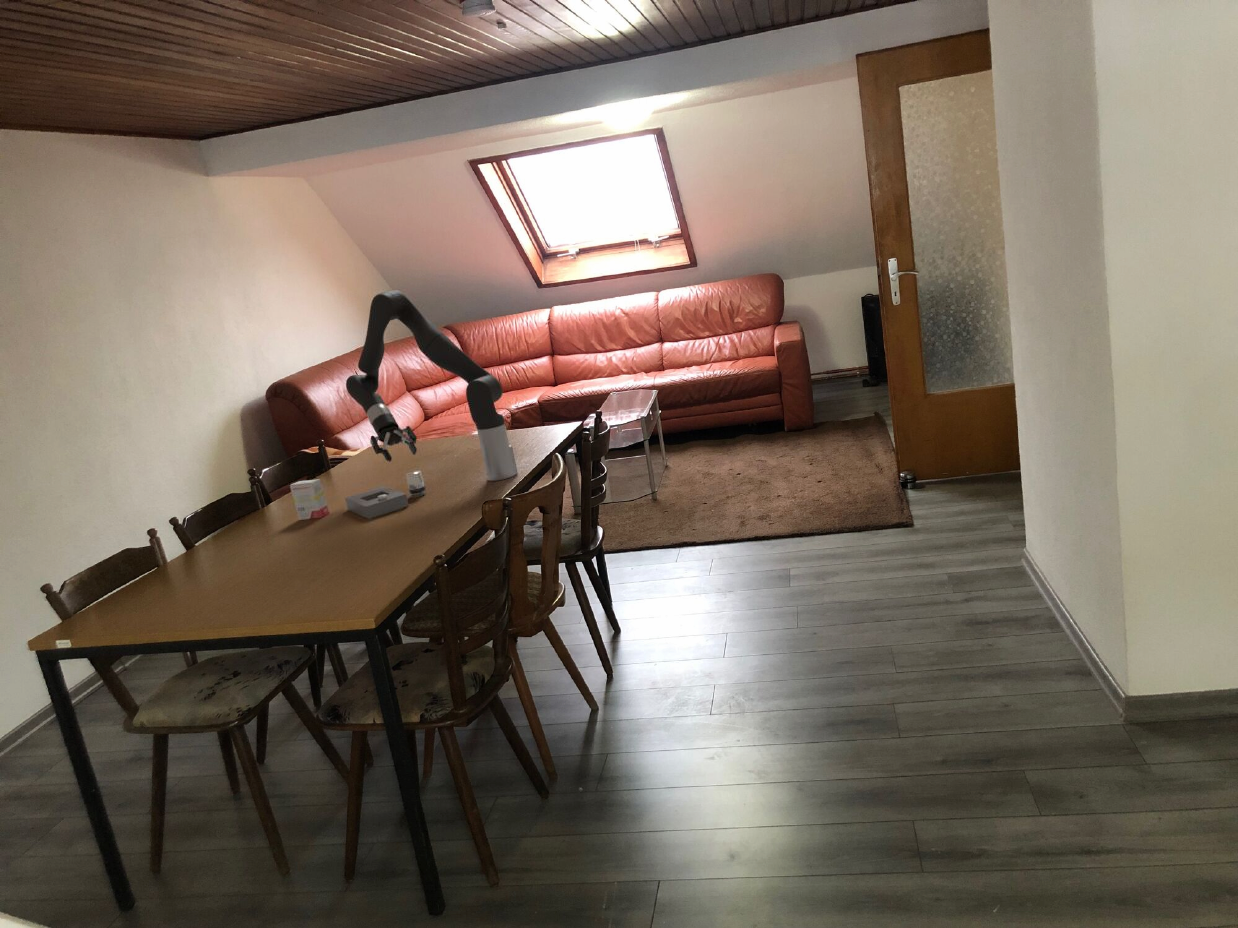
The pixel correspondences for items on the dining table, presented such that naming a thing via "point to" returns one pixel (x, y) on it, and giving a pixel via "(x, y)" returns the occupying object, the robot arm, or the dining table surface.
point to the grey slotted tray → (376, 502)
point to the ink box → (309, 499)
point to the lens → (416, 484)
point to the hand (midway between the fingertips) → (402, 456)
